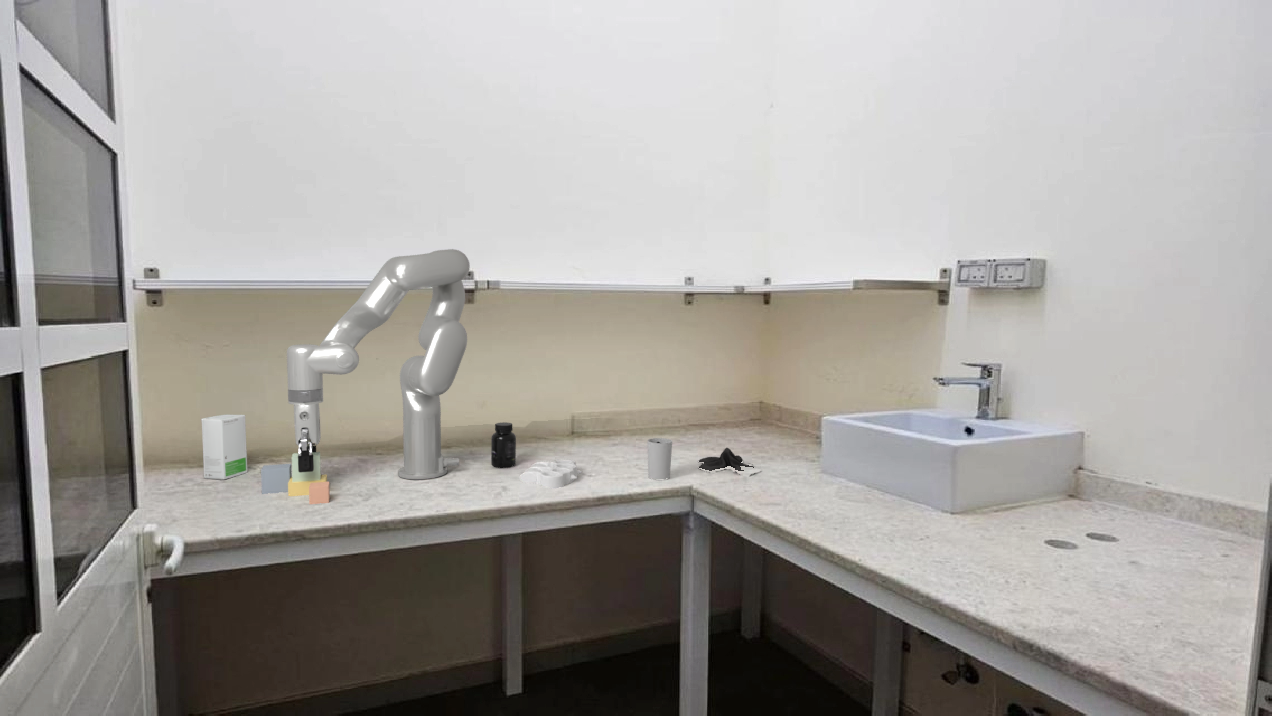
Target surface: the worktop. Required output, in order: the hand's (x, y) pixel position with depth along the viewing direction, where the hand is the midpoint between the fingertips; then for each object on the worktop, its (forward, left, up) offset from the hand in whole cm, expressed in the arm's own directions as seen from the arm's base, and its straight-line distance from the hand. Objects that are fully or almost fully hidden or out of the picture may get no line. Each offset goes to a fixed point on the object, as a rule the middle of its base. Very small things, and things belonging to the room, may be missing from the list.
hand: (307, 466), depth 162 cm
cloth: (-110, +10, -7) cm, 111 cm away
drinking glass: (-86, +15, -6) cm, 88 cm away
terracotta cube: (-3, +9, -6) cm, 11 cm away
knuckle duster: (-59, +7, -7) cm, 60 cm away
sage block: (0, 0, -3) cm, 3 cm away
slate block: (+7, -3, -6) cm, 10 cm away
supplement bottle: (-49, -10, -6) cm, 50 cm away
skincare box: (+21, -22, -6) cm, 31 cm away
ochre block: (0, 0, -6) cm, 6 cm away
